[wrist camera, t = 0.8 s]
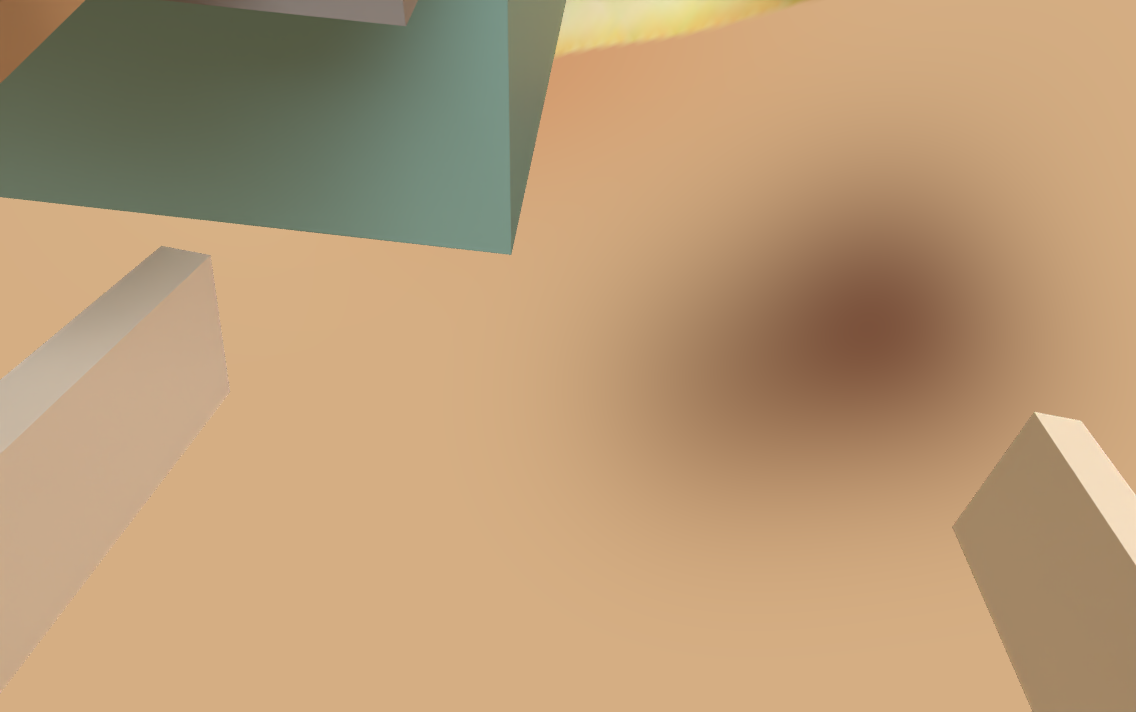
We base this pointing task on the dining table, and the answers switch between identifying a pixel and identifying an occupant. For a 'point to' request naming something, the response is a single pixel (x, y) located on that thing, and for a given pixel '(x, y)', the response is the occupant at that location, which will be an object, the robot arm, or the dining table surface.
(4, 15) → the wooden bar
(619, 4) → the dining table surface
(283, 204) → the stand
